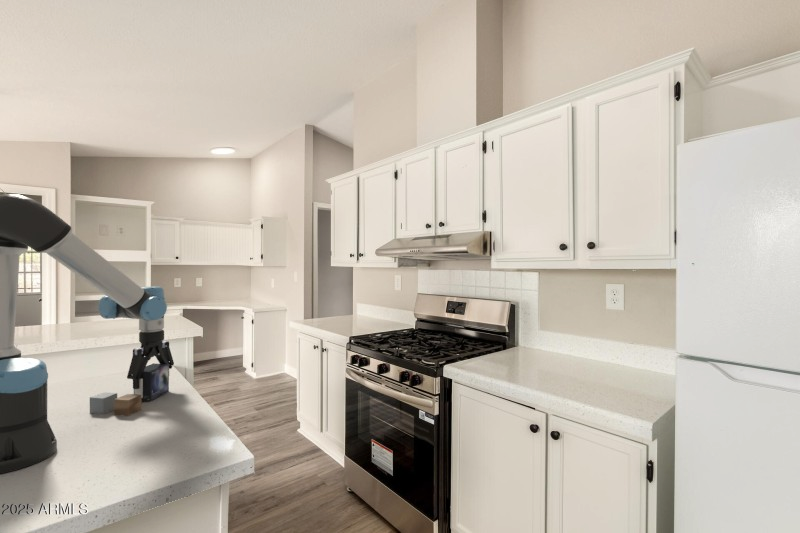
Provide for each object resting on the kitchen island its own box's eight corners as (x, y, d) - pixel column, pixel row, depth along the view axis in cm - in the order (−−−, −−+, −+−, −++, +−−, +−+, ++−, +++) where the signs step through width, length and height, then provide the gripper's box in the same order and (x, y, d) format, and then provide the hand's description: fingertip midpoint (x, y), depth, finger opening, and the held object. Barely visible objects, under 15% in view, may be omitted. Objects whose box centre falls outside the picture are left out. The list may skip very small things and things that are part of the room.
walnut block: (128, 416, 121) (128, 400, 121) (114, 415, 121) (114, 399, 121) (141, 410, 126) (141, 394, 125) (128, 409, 126) (127, 393, 126)
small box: (151, 401, 133) (151, 371, 132) (132, 401, 133) (132, 371, 133) (170, 391, 143) (170, 363, 143) (152, 391, 143) (152, 363, 143)
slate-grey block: (103, 414, 122) (103, 398, 122) (89, 413, 123) (89, 397, 123) (117, 408, 127) (117, 393, 127) (104, 407, 128) (104, 392, 128)
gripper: (133, 336, 125) (133, 404, 126) (184, 325, 149) (184, 382, 149) (113, 336, 127) (113, 403, 127) (167, 324, 150) (167, 381, 150)
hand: (152, 392), depth 138 cm, fingers closed on small box, 11 cm apart
